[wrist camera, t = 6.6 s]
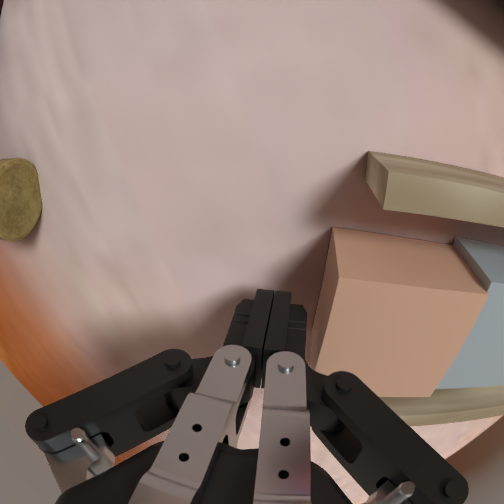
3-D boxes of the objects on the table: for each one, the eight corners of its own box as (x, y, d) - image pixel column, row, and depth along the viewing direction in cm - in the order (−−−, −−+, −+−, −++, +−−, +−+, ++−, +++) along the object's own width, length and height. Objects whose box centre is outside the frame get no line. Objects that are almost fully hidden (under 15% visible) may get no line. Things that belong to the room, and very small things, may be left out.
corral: (368, 150, 11) (388, 171, 8) (597, 209, 9) (631, 235, 6) (325, 378, 18) (323, 426, 15) (522, 372, 15) (537, 406, 12)
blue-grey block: (454, 235, 12) (491, 282, 9) (534, 251, 12) (572, 292, 8) (416, 333, 15) (433, 388, 12) (494, 336, 14) (516, 383, 11)
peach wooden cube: (332, 226, 13) (339, 277, 10) (453, 245, 12) (488, 294, 9) (311, 331, 16) (308, 391, 13) (414, 341, 15) (429, 397, 12)
